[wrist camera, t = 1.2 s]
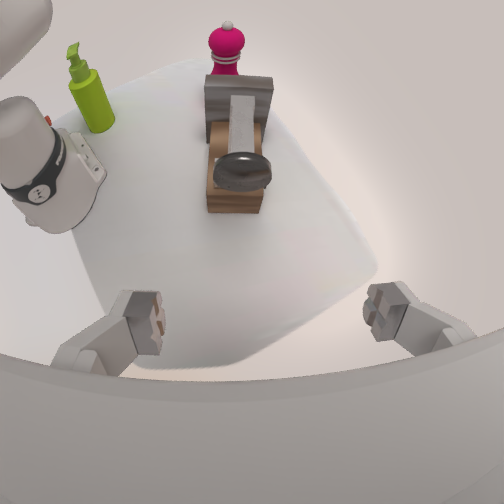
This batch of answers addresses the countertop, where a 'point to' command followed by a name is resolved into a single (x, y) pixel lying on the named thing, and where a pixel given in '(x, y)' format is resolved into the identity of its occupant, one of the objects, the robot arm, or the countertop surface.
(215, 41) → the pepper mill
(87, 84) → the soap dispenser
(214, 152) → the stand
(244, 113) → the plunger
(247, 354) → the countertop surface
